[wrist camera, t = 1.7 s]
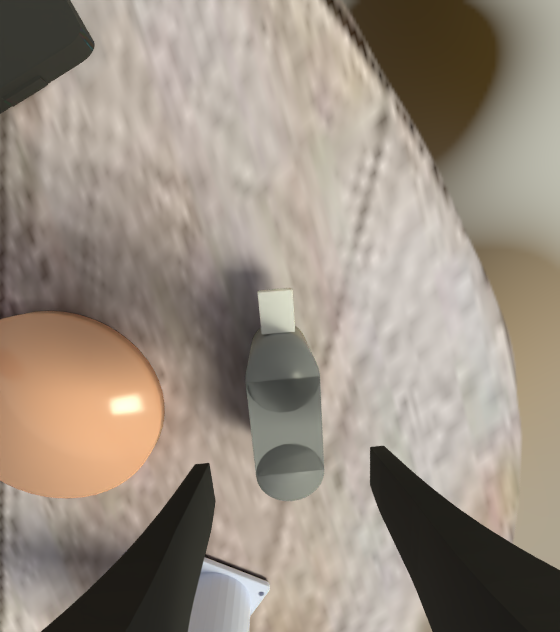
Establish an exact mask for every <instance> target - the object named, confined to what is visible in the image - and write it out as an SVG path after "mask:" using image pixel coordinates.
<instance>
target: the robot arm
mask: <svg viewBox="0 0 560 632" xmlns="http://www.w3.org/2000/svg"><path fill="white" fill-rule="evenodd" d="M370 486H371V489H372V492H373V495H374V497H375V500H376V503H377V506H378V508H379V511H380V513H381V515H382V518H383V520H384V522H385V524H386V526H387V528H388V530H389V532H390V535H391V537H392V539H393V541H394V543H395V545H396V547H397V549H398V551H399V553H400V555H401V558H402V560H403V562H404V564H405V566H406V568H407V570H408V572H409V574H410V577H411V579H412V581H413V583H414V586H415V588H416V590H417V593H418V595H419V598H420V600H421V603H422V606H423V608H424V611H425V613H426V616H427V618H428V621H429V623H430V626H431V629H432V631H433V632H560V570H558V569H556V568H555V567H553V566H551V565H549V564H547V563H545V562H544V561H542V560H540V559H538V558H536V557H534V556H533V555H531V554H529V553H527V552H526V551H524V550H522V549H520V548H519V547H517V546H515V545H514V544H512V543H510V542H509V541H507V540H506V539H504V538H502V537H501V536H499V535H497V534H496V533H494V532H493V531H491V530H489V529H488V528H486V527H485V526H483V525H482V524H480V523H479V522H477V521H476V520H474V519H473V518H471V517H470V516H469V515H467V514H466V513H464V512H463V511H461V510H460V509H459V508H457V507H456V506H454V505H453V504H452V503H450V502H449V501H448V500H447V499H445V498H444V497H443V496H441V495H440V494H439V493H438V492H436V491H435V490H434V489H433V488H431V487H430V486H429V485H428V484H426V483H425V482H424V481H423V480H422V479H421V478H419V477H418V476H417V475H416V474H415V473H414V472H412V471H411V470H410V469H409V468H408V467H407V466H406V465H405V464H403V463H402V462H401V461H400V460H399V459H398V458H397V457H396V456H395V455H393V454H392V453H391V452H390V451H389V450H388V449H387V448H386V447H385V446H376V447H370ZM214 508H215V495H214V489H213V483H212V477H211V471H210V464H209V463H204V464H195V465H194V467H193V468H192V469H191V471H190V472H189V474H188V475H187V476H186V478H185V479H184V481H183V482H182V483H181V485H180V486H179V488H178V489H177V490H176V492H175V493H174V494H173V496H172V497H171V498H170V500H169V501H168V502H167V504H166V505H165V506H164V508H163V509H162V510H161V511H160V513H159V514H158V515H157V516H156V518H155V519H154V520H153V521H152V522H151V524H150V525H149V526H148V527H147V529H146V530H145V531H144V532H143V533H142V535H141V536H140V537H139V538H138V539H137V540H136V541H135V543H134V544H133V545H132V546H131V547H130V548H129V549H128V550H127V551H126V552H125V553H124V555H123V556H122V557H121V558H120V559H119V560H118V561H117V562H116V563H115V564H114V565H113V566H112V567H111V568H110V569H109V570H108V571H107V572H106V573H105V574H104V575H103V576H102V577H101V578H100V579H99V580H98V581H97V582H96V583H95V584H94V585H93V586H92V587H91V588H90V589H89V590H88V591H87V592H85V593H84V594H83V595H82V596H81V597H80V598H79V599H78V600H77V601H76V602H74V603H73V604H72V605H71V606H70V607H69V608H68V609H67V610H66V611H64V612H63V613H62V614H61V615H60V616H59V617H57V618H56V619H55V620H54V621H53V622H52V623H51V624H49V625H48V626H47V627H46V628H45V629H43V630H42V631H41V632H249V626H250V616H251V614H252V613H253V612H254V610H255V609H256V608H257V606H258V605H259V604H260V602H261V601H262V600H263V598H264V597H265V596H266V594H267V593H268V592H269V590H270V585H269V582H267V581H265V580H262V579H260V578H257V577H255V576H252V575H250V574H247V573H244V572H242V571H239V570H237V569H234V568H232V567H229V566H226V565H224V564H221V563H219V562H216V561H213V560H211V559H208V558H206V557H205V553H206V549H207V545H208V541H209V537H210V533H211V528H212V522H213V515H214Z"/></svg>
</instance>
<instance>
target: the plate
mask: <svg viewBox="0 0 560 632" xmlns="http://www.w3.org/2000/svg"><path fill="white" fill-rule="evenodd" d="M163 422H164V399H163V393H162V389H161V386H160V383H159V380H158V378H157V376H156V374H155V372H154V370H153V368H152V367H151V365H150V364H149V362H148V360H147V359H146V358H145V357H144V355H143V354H142V353H141V352H140V351H139V349H138V348H137V347H135V346H134V345H133V344H132V343H131V342H130V341H129V340H128V339H127V338H125V337H124V336H123V335H121V334H120V333H119V332H117V331H115V330H114V329H112V328H110V327H109V326H107V325H105V324H103V323H101V322H98V321H96V320H94V319H91V318H88V317H85V316H82V315H78V314H73V313H68V312H60V311H37V312H31V313H25V314H20V315H16V316H12V317H7V318H3V319H0V481H2V482H4V483H6V484H8V485H10V486H12V487H15V488H17V489H19V490H22V491H25V492H28V493H31V494H36V495H40V496H45V497H53V498H79V497H86V496H91V495H96V494H99V493H102V492H105V491H108V490H110V489H112V488H114V487H117V486H118V485H120V484H122V483H123V482H125V481H126V480H128V479H129V478H130V477H131V476H133V475H134V474H135V473H136V472H137V471H138V470H139V469H140V467H141V466H142V465H143V464H144V462H145V461H146V459H147V458H148V456H149V455H150V453H151V451H152V450H153V448H154V446H155V445H156V443H157V441H158V439H159V436H160V434H161V430H162V427H163Z"/></svg>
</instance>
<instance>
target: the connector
mask: <svg viewBox="0 0 560 632" xmlns="http://www.w3.org/2000/svg"><path fill="white" fill-rule="evenodd" d="M258 301H259V312H260V322H261V328H260V329H259V330H258V331H257V332H256V334H255V335H254V337H253V340H252V344H251V349H250V354H249V360H248V365H247V370H246V376H245V382H246V391H247V400H248V409H249V417H250V426H251V435H252V443H253V452H254V461H255V469H256V477H257V482H258V484H259V486H260V488H261V489H262V490H263V491H264V492H265V493H266V494H267V495H269V496H270V497H272V498H275V499H278V500H282V501H295V500H299V499H302V498H305V497H307V496H309V495H310V494H312V493H313V492H314V491H315V490H316V489H317V488H318V487H319V485H320V484H321V482H322V479H323V476H324V457H323V435H322V413H321V391H320V373H319V368H318V366H317V363H316V361H315V359H314V357H313V355H312V352H311V350H310V348H309V346H308V344H307V342H306V340H305V337H304V335H303V334H302V332H301V331H300V330H299V329H298V328H297V327H296V326H295V321H294V306H293V291H292V289H291V288H284V289H272V290H260V291H258Z"/></svg>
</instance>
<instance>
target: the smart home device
mask: <svg viewBox="0 0 560 632" xmlns="http://www.w3.org/2000/svg"><path fill="white" fill-rule="evenodd" d="M93 49H94V41H93V39H92V38H91V36H90V34H89V32H88V31H87V29H86V27H85V25H84V24H83V22H82V20H81V18H80V17H79V15H78V13H77V11H76V10H75V8H74V6H73V4H72V3H71V1H70V0H0V113H2V112H4V111H5V110H7V109H8V108H10V107H12V106H15V105H16V104H18V103H19V102H21V101H23V100H24V99H26V98H27V97H29V96H31V95H32V94H34V93H35V92H37V91H39V90H40V89H42V88H44V87H45V86H47V85H48V83H50V82H51V81H53V80H55V79H56V78H58V77H59V76H61V75H63V74H64V73H66V72H67V71H69V70H71V69H72V68H74V67H75V66H77V65H79V64H80V63H82V62H83V61H84V60H86V59H87V58H88V57H89V56H90V54H91V53H92V51H93Z"/></svg>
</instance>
